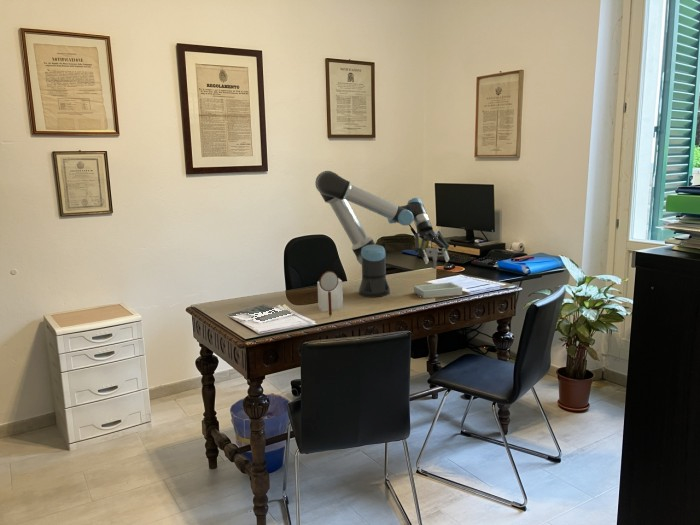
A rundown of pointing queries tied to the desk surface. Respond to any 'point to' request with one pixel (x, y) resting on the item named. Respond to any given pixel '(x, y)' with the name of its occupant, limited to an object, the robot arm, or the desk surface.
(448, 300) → the desk surface
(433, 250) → the mechanical component
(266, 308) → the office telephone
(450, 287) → the keeper cradle
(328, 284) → the magnifying glass
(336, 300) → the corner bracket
